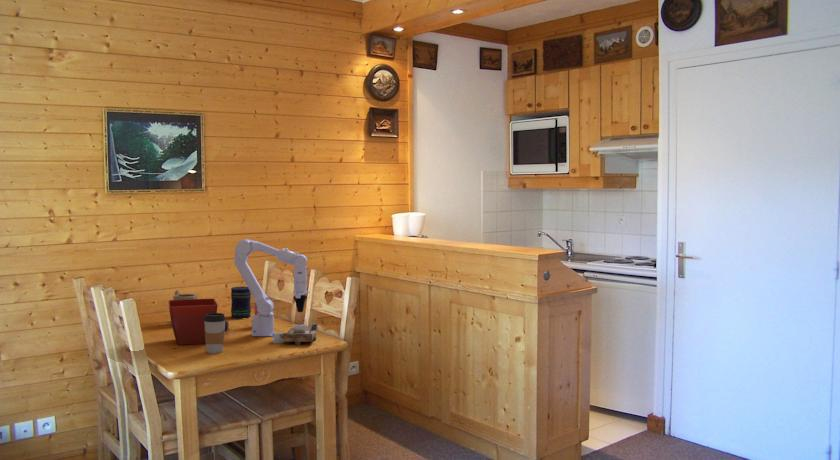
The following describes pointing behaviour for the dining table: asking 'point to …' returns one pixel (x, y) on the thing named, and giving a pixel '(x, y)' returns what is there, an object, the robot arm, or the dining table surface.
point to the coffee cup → (214, 332)
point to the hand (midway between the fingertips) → (300, 311)
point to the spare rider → (278, 337)
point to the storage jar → (240, 302)
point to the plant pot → (190, 319)
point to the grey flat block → (301, 335)
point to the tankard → (183, 297)
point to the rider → (299, 328)
